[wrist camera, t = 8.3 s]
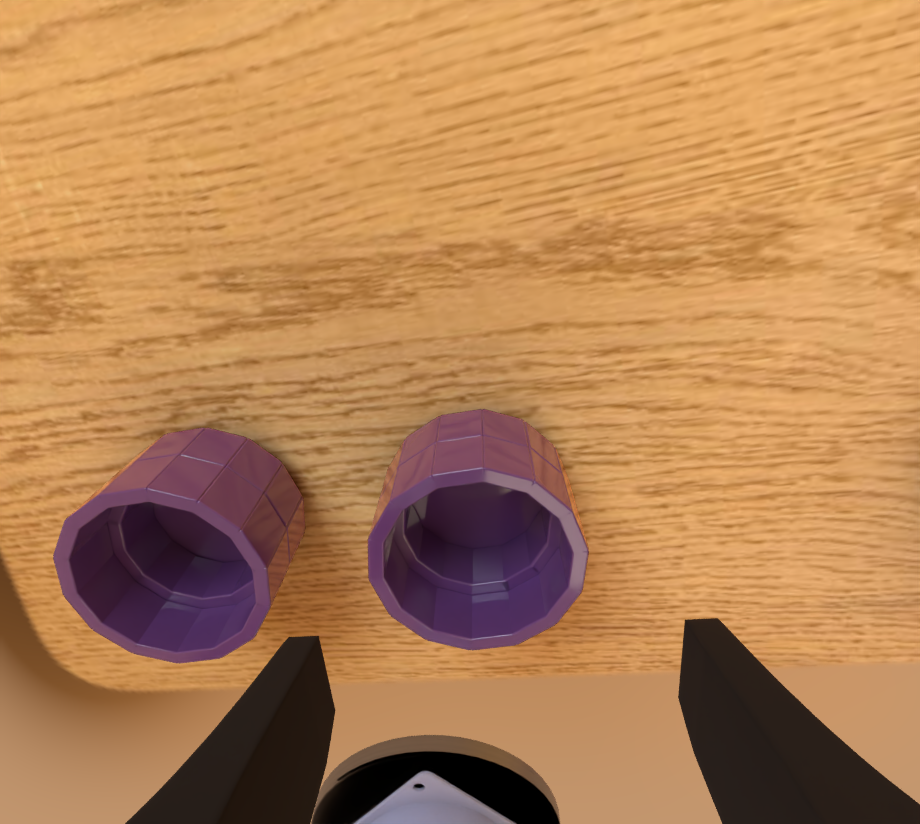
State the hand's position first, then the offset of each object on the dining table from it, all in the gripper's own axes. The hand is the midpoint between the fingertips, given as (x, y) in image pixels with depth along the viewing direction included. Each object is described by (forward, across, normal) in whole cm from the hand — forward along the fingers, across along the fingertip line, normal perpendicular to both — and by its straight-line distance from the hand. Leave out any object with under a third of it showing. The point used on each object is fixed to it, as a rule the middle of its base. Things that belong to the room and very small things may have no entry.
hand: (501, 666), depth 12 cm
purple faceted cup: (+7, +8, 0) cm, 11 cm away
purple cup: (+7, 0, 0) cm, 7 cm away
